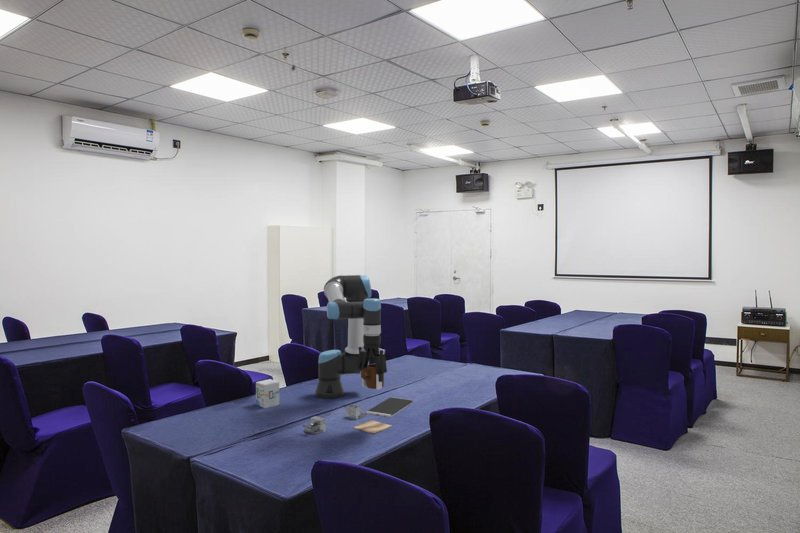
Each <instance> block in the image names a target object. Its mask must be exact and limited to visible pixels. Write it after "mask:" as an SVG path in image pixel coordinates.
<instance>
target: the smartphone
mask: <svg viewBox="0 0 800 533" xmlns="http://www.w3.org/2000/svg"><path fill="white" fill-rule="evenodd" d="M413 403H414V400H413V399H409V398H408V399H407V398H400V397H394V396H393V397H392V396H391V397H389V398H387V399H385V400H383V401H382V402H380V403H378V404H376V405H375V406H373V407H371V408H370V409H368V410H366V411H365V414H366V415H371V416H379V417H384V418H385V417H386V418H393V417H394V416H395V415H397V414H398V413H400V412H401V411H402V410H404V409H406V408H407V407H409V406H410V405H412V404H413Z"/></svg>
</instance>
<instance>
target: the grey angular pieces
mask: <svg viewBox="0 0 800 533" xmlns="http://www.w3.org/2000/svg"><path fill="white" fill-rule="evenodd" d="M345 408H346V410H345V411H346V412H345V414H346V417H347V418H349V419H354V420H358V419H362V418H365V417H367V414H366V413H364V412H361V410H362V409H361V406H359V405H355V404H348V405H346V407H345ZM326 421H327V420H326V418H323V417H320V416H316V415H315V416H312V417H310V423H309V424H302V427H304V428H303V432H306V433H309V434H311V435H314V436H316V435H319V434H321V433H324V432H326V430H327V429H326V424H327V422H326Z"/></svg>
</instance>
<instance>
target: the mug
mask: <svg viewBox="0 0 800 533" xmlns="http://www.w3.org/2000/svg"><path fill="white" fill-rule="evenodd" d="M365 372H366V376H365ZM377 373H378V372H377V368H376V365H375V363H369V365H367V368H364V369H363V370H362V371H361V374H360V378H361V377H362V378H363V379H364V380H367V386H366V387H367V388H368V389H372V390H376V374H377ZM362 378H361V379H362ZM384 386H385V373H383V381H382V388H384Z"/></svg>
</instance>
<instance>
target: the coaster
mask: <svg viewBox="0 0 800 533" xmlns="http://www.w3.org/2000/svg"><path fill="white" fill-rule="evenodd" d="M392 427H393V425H391V424H387V423H383V422H380V421H376V420H373V419H371V420H368V421H365V422H363V423H360V424H358V425H355V426H354V427H353V428H352V429H355V430H358V431H362V432H365V433H368V434H372V435H375V434H378V433H381V432H383V431H385V430H387V429H390V428H392Z"/></svg>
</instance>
